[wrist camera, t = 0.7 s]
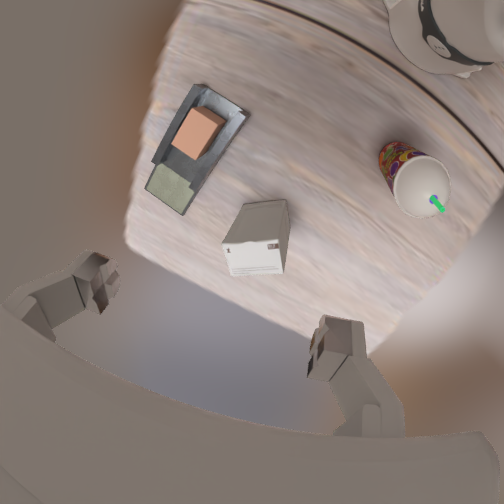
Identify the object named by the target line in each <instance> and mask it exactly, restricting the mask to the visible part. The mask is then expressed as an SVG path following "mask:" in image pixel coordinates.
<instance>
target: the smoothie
mask: <svg viewBox="0 0 504 504" xmlns="http://www.w3.org/2000/svg"><path fill="white" fill-rule="evenodd" d="M379 166H380V170H381V172H382V174H383V176H384V177H385V179H386V181H387V183H388V185H389V187H390V190H391V192H392V194H393V196H394V198H395V201H396V203H397V205H398V207H399V208H400V209H401V210H402V211H403V212H404V213H405V214H406V215H409V216H411V217H413V218H421V219H423V218H429V217H433V216H435V215H437V214H439V213H440V212H442V213H443V212H444V211H445V207H446V205H447V203H448V201H449V198H450V193H451V179H450V175H449V173H448V171H447V168H446V167H445V166H444V165H443V164H442V163H441V161H439V160H437V159H435V158H433V157H431V156H429V155H427V154H425V153H423V152H421V151H419V150H417V149H415V148H413V147H411V146H409V145H406V144H404V143H402V142H393V143H390V144H388V145H387V146H385V147H384V149H383V150H382V151H381V154H380V156H379Z"/></svg>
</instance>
